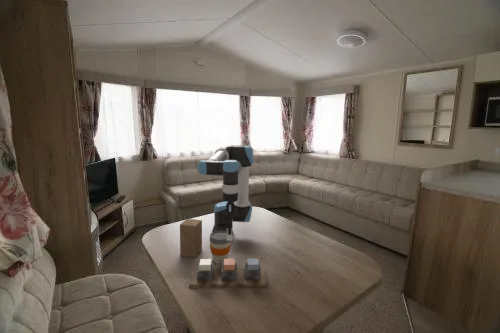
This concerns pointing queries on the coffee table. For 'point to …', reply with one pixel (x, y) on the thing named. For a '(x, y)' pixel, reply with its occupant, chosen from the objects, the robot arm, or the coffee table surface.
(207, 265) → the cream button
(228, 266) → the terracotta button
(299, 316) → the coffee table surface
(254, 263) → the slate button
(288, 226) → the coffee table surface
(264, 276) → the console
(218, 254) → the reusable coffee cup
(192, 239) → the wooden block
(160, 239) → the coffee table surface
